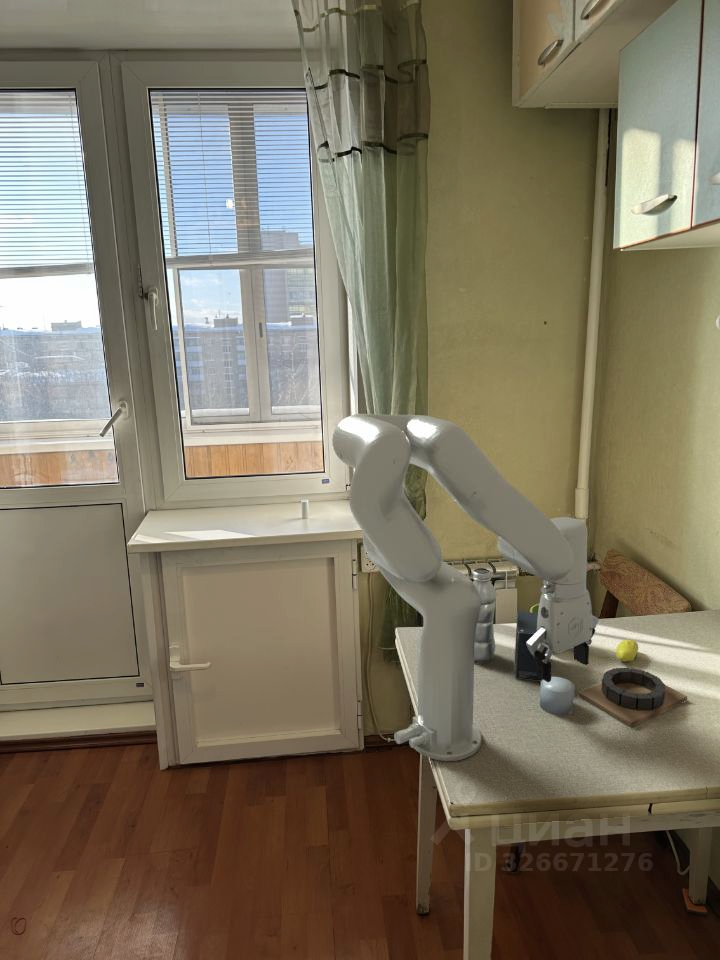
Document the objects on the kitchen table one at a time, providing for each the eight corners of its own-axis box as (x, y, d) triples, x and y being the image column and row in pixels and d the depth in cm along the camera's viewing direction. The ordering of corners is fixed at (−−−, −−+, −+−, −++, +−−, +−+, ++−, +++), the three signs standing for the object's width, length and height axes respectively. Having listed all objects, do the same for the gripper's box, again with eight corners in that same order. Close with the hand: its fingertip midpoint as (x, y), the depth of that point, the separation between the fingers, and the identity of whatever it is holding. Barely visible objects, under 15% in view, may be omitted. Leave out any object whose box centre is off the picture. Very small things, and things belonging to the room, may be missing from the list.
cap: (556, 719, 125) (557, 696, 124) (533, 703, 130) (534, 681, 129) (579, 709, 128) (581, 686, 127) (555, 694, 133) (556, 672, 132)
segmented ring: (637, 717, 124) (639, 704, 123) (589, 689, 133) (590, 677, 132) (676, 698, 129) (677, 687, 128) (627, 673, 138) (628, 662, 138)
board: (630, 727, 122) (631, 722, 122) (578, 696, 132) (578, 691, 132) (686, 700, 130) (687, 696, 130) (633, 673, 140) (633, 669, 140)
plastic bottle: (462, 663, 146) (463, 575, 141) (467, 648, 152) (469, 563, 147) (492, 667, 144) (495, 578, 139) (497, 652, 150) (499, 566, 145)
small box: (548, 682, 137) (550, 634, 135) (514, 679, 139) (516, 632, 136) (544, 656, 148) (547, 612, 145) (514, 654, 149) (515, 610, 146)
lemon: (642, 654, 148) (644, 637, 147) (629, 669, 142) (631, 652, 141) (623, 648, 150) (624, 632, 150) (609, 663, 145) (610, 646, 144)
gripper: (544, 606, 116) (543, 694, 121) (613, 580, 124) (610, 664, 129) (513, 591, 122) (513, 676, 127) (581, 567, 131) (579, 648, 135)
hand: (562, 670), depth 128 cm, fingers open, 9 cm apart
